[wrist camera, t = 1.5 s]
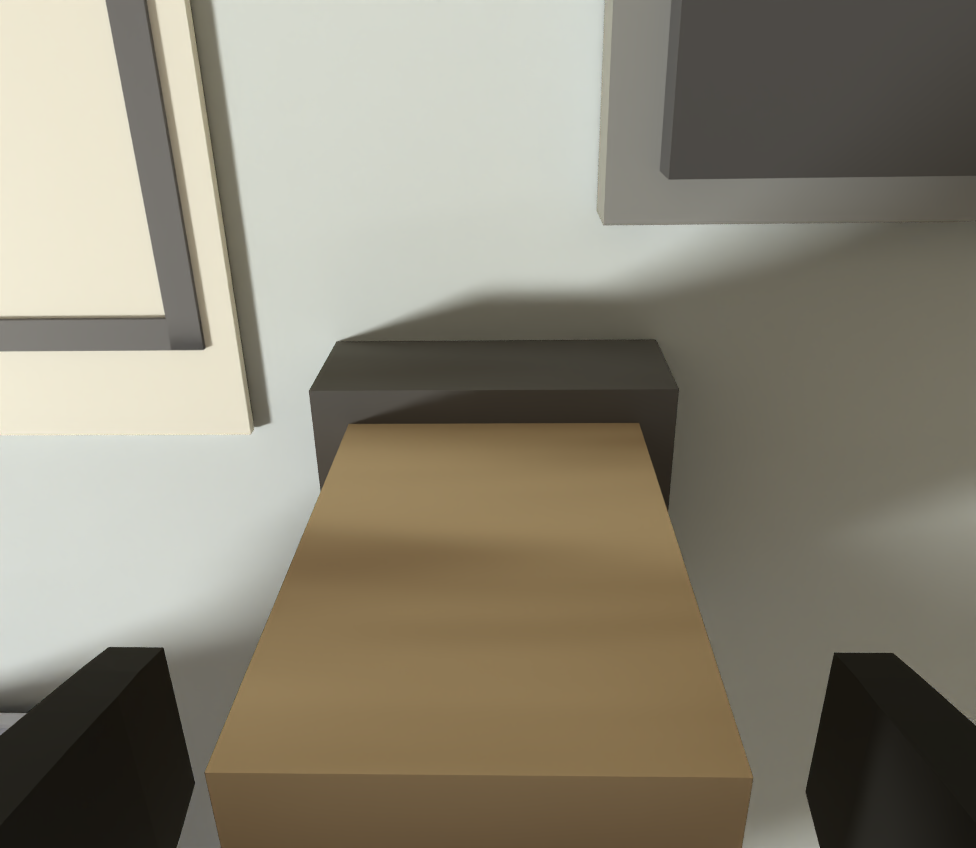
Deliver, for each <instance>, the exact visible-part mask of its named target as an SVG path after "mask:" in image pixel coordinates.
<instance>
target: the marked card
mask: <svg viewBox="0 0 976 848" xmlns="http://www.w3.org/2000/svg"><path fill="white" fill-rule="evenodd" d="M253 430H254V424H253V418H252V411H251V404H250V398H249V391H248V385H247V378H246V371H245V365H244V358H243V351H242V345H241V338H240V331H239V325H238V318H237V311H236V305H235V298H234V292H233V285H232V278H231V272H230V265H229V258H228V252H227V245H226V238H225V232H224V225H223V219H222V212H221V205H220V199H219V192H218V185H217V179H216V172H215V165H214V159H213V152H212V145H211V139H210V132H209V126H208V119H207V112H206V106H205V99H204V92H203V86H202V79H201V72H200V66H199V59H198V53H197V46H196V39H195V33H194V26H193V19H192V13H191V6H190V0H0V435H251V433H252V432H253Z"/></svg>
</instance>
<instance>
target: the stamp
mask: <svg viewBox="0 0 976 848" xmlns="http://www.w3.org/2000/svg"><path fill="white" fill-rule="evenodd" d="M678 392H679V389H678V386H677V384H676V382H675V380H674V378H673V376H672V373H671V371H670V369H669V367H668V365H667V363H666V361H665V358H664V356H663V354H662V352H661V350H660V348H659V345H658V343H657V341H656V340H509V341H362V342H336V344H335V345H334V347H333V349H332V351H331V352H330V354H329V356H328V358H327V360H326V361H325V363H324V365H323V367H322V369H321V370H320V372H319V374H318V376H317V377H316V379H315V381H314V383H313V385H312V386H311V388H310V390H309V396H310V404H311V413H312V421H313V430H314V438H315V447H316V456H317V464H318V473H319V481H320V490H321V492H320V495H319V497H318V499H317V502H316V504H315V507H314V509H313V512H312V514H311V516H310V519H309V521H308V524H307V526H306V528H305V531H304V533H303V536H302V538H301V541H300V543H299V545H298V548H297V550H296V553H295V555H294V557H293V560H292V562H291V565H290V567H289V570H288V572H287V574H286V577H285V579H284V582H283V584H282V586H281V589H280V591H279V594H278V596H277V599H276V601H275V603H274V606H273V608H272V611H271V613H270V615H269V618H268V620H267V623H266V625H265V628H264V630H263V632H262V635H261V637H260V640H259V642H258V644H257V647H256V649H255V652H254V654H253V657H252V659H251V661H250V664H249V666H248V669H247V671H246V674H245V676H244V678H243V681H242V683H241V686H240V688H239V690H238V693H237V695H236V698H235V700H234V703H233V705H232V707H231V710H230V712H229V715H228V717H227V719H226V722H225V724H224V727H223V729H222V732H221V734H220V736H219V739H218V741H217V744H216V746H215V748H214V751H213V753H212V756H211V758H210V761H209V763H208V765H207V768H206V770H205V777H206V782H207V786H208V791H209V795H210V800H211V804H212V809H213V813H214V818H215V822H216V827H217V831H218V836H219V840H220V845H221V848H742V843H743V837H744V831H745V825H746V819H747V813H748V807H749V801H750V795H751V789H752V783H753V775H752V772H751V769H750V766H749V763H748V760H747V757H746V753H745V750H744V747H743V744H742V741H741V738H740V735H739V732H738V729H737V726H736V722H735V719H734V716H733V713H732V710H731V707H730V704H729V701H728V698H727V694H726V691H725V688H724V685H723V682H722V679H721V676H720V673H719V670H718V667H717V663H716V660H715V657H714V654H713V651H712V648H711V645H710V642H709V639H708V635H707V632H706V629H705V626H704V623H703V620H702V617H701V614H700V611H699V608H698V604H697V601H696V598H695V595H694V592H693V589H692V586H691V583H690V580H689V577H688V573H687V570H686V567H685V564H684V561H683V558H682V555H681V552H680V549H679V545H678V542H677V539H676V536H675V533H674V530H673V527H672V524H671V521H670V518H669V514H668V505H669V494H670V483H671V471H672V460H673V449H674V437H675V426H676V415H677V403H678Z"/></svg>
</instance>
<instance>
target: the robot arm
mask: <svg viewBox="0 0 976 848" xmlns="http://www.w3.org/2000/svg"><path fill="white" fill-rule="evenodd" d="M194 785H195V781H194V777H193V773H192V768H191V764H190V760H189V755H188V751H187V747H186V743H185V738H184V734H183V730H182V725H181V721H180V717H179V713H178V708H177V704H176V700H175V695H174V691H173V687H172V682H171V678H170V674H169V670H168V665H167V661H166V657H165V652H164V648H145V647H108V648H107V649H106V650H104V651H103V652H102V653H100V654H99V655H98V656H97V657H95V658H94V659H93V660H91V661H90V662H89V663H88V664H86V665H85V666H84V667H83V668H81V669H80V670H79V671H78V672H76V673H75V674H74V675H73V676H71V677H70V678H69V679H68V680H67V681H65V682H64V683H63V684H62V685H60V686H59V687H58V688H57V689H56V690H54V691H53V692H52V693H51V694H50V695H48V696H47V697H46V698H45V699H44V700H42V701H41V702H40V703H39V704H38V705H36V706H35V707H34V708H33V709H31V710H30V711H29V712H28V713H0V848H176V847H177V844H178V841H179V838H180V834H181V831H182V827H183V824H184V820H185V817H186V813H187V810H188V806H189V803H190V799H191V796H192V792H193V789H194ZM806 795H807V799H808V803H809V807H810V811H811V815H812V819H813V822H814V826H815V830H816V834H817V838H818V842H819V846H820V848H976V726H975V725H974V724H973V723H972V722H971V721H970V720H969V719H968V718H966V717H965V716H964V715H963V714H962V713H961V712H960V711H959V710H957V709H956V708H955V707H954V706H953V705H952V704H951V703H950V702H948V701H947V700H946V699H945V698H944V697H943V696H942V695H941V694H940V693H938V692H937V691H936V690H935V689H934V688H933V687H932V686H930V685H929V684H928V683H927V682H926V681H925V680H924V679H923V678H921V677H920V676H919V675H918V674H917V673H916V672H915V671H913V670H912V669H911V668H910V667H909V666H908V665H906V664H905V663H904V662H903V661H902V660H900V659H899V658H898V657H897V656H896V655H894V654H893V653H834V656H833V661H832V666H831V670H830V675H829V680H828V685H827V690H826V695H825V700H824V704H823V709H822V714H821V719H820V724H819V729H818V733H817V738H816V743H815V748H814V753H813V758H812V763H811V767H810V772H809V777H808V782H807V787H806Z"/></svg>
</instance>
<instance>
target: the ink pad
mask: <svg viewBox="0 0 976 848" xmlns="http://www.w3.org/2000/svg"><path fill="white" fill-rule="evenodd" d="M597 212H598V215H599V217H600V219H601V221H602V223H603V225H682V224H774V223H866V222H958V221H976V0H605V9H604V35H603V61H602V86H601V112H600V138H599V164H598V190H597Z"/></svg>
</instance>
